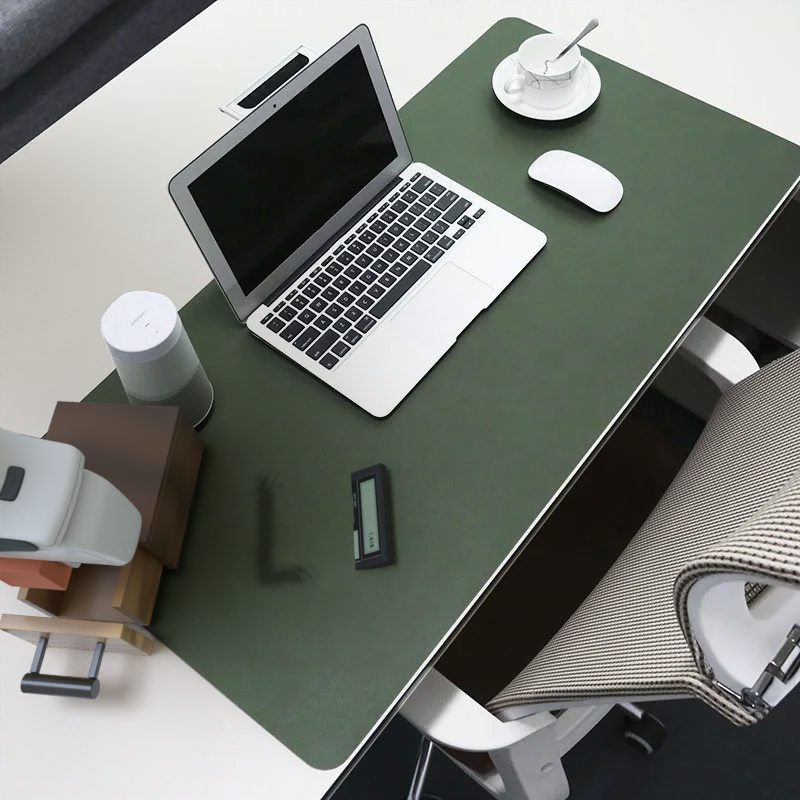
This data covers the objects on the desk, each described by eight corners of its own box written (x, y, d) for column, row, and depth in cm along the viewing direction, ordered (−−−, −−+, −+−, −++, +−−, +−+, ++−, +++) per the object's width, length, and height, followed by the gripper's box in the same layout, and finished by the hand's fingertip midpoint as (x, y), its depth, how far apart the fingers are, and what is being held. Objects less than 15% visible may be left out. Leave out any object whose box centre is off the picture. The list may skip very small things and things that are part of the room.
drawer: (139, 710, 71) (105, 696, 64) (24, 699, 72) (-21, 684, 65) (180, 530, 78) (153, 502, 71) (75, 523, 79) (39, 495, 73)
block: (11, 586, 64) (-21, 569, 60) (28, 530, 66) (-1, 510, 62) (66, 590, 63) (38, 573, 59) (82, 534, 65) (56, 513, 61)
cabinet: (180, 573, 77) (146, 541, 69) (62, 564, 78) (14, 532, 70) (208, 448, 83) (179, 406, 75) (97, 442, 84) (57, 400, 76)
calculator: (267, 487, 80) (260, 475, 78) (388, 475, 80) (385, 462, 77) (267, 583, 76) (260, 573, 73) (395, 570, 75) (392, 560, 73)
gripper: (-244, 523, 51) (-104, 585, 63) (73, 545, 48) (155, 606, 61) (-200, 430, 54) (-75, 507, 66) (101, 446, 51) (174, 523, 63)
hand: (37, 554), depth 63 cm, fingers closed on block, 4 cm apart
